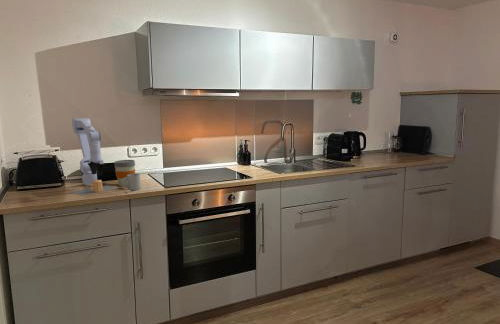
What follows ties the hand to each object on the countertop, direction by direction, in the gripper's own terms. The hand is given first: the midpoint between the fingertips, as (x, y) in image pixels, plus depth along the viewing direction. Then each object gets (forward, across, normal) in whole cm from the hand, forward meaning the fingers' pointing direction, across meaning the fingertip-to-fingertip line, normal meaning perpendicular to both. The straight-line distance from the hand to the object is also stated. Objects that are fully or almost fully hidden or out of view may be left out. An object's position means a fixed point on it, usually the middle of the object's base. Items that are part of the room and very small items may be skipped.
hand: (97, 174), depth 217 cm
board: (+9, +4, -4) cm, 11 cm away
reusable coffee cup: (+10, -2, +19) cm, 21 cm away
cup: (+10, +14, +14) cm, 22 cm away
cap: (+8, +8, -4) cm, 12 cm away
